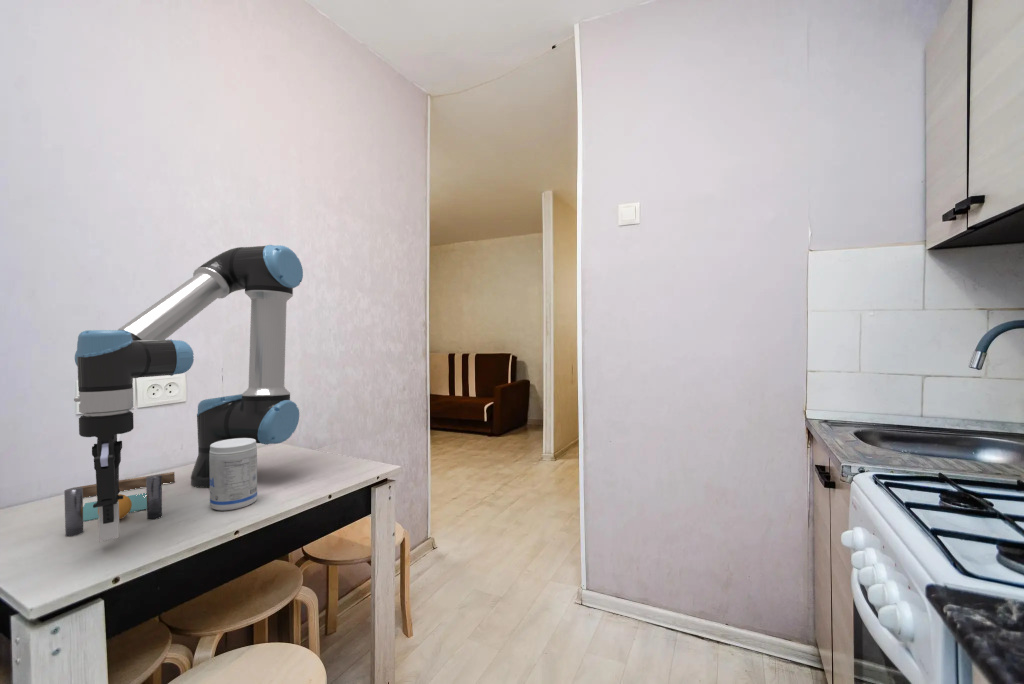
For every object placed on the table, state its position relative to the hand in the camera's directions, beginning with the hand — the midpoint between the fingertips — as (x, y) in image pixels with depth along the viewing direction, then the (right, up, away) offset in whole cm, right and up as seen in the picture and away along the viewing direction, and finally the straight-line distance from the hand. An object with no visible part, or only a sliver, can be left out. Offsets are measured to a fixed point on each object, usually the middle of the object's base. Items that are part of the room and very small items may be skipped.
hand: (109, 537), depth 83 cm
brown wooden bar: (-25, -2, +32) cm, 41 cm away
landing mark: (-17, -2, +21) cm, 27 cm away
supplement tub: (+10, -2, +22) cm, 24 cm away
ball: (-11, +1, +13) cm, 17 cm away
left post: (-13, -2, +6) cm, 15 cm away
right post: (-3, -2, +14) cm, 15 cm away
